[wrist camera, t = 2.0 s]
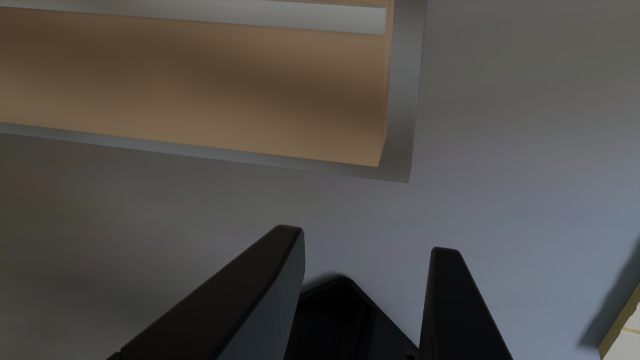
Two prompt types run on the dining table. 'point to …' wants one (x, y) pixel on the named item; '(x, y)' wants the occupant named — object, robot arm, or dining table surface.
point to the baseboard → (624, 333)
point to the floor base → (220, 79)
